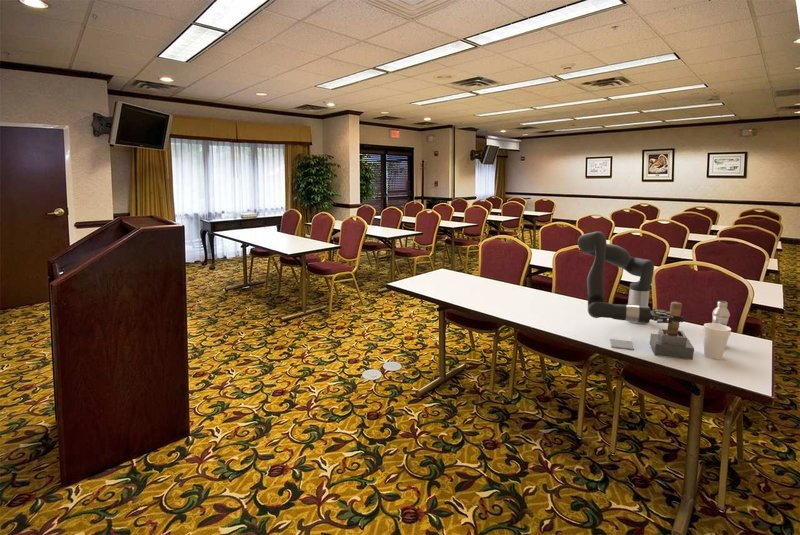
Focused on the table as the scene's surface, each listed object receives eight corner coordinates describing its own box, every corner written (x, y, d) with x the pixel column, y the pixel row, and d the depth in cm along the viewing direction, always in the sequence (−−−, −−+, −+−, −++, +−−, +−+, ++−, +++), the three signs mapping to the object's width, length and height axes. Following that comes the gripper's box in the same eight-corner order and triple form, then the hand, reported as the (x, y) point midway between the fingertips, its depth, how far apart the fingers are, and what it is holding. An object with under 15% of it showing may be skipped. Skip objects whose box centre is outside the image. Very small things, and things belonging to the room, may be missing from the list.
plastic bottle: (721, 342, 204) (727, 300, 200) (727, 347, 198) (734, 304, 194) (705, 341, 206) (711, 299, 202) (711, 346, 199) (717, 303, 195)
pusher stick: (665, 332, 195) (670, 301, 192) (676, 333, 193) (681, 302, 190) (667, 335, 191) (671, 303, 188) (678, 336, 190) (682, 305, 187)
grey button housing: (649, 343, 203) (651, 326, 201) (685, 347, 198) (687, 329, 196) (654, 355, 190) (656, 336, 188) (692, 359, 185) (695, 340, 183)
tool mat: (610, 339, 208) (610, 338, 207) (631, 342, 204) (631, 341, 204) (611, 347, 198) (611, 346, 198) (634, 350, 195) (634, 348, 195)
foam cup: (701, 349, 195) (705, 321, 193) (727, 355, 190) (731, 326, 187) (698, 356, 188) (702, 327, 185) (725, 362, 182) (730, 332, 180)
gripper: (639, 310, 188) (687, 314, 182) (636, 301, 201) (679, 305, 195) (638, 326, 190) (684, 331, 184) (634, 317, 203) (677, 321, 197)
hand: (681, 318), depth 190 cm, fingers closed on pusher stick, 4 cm apart
